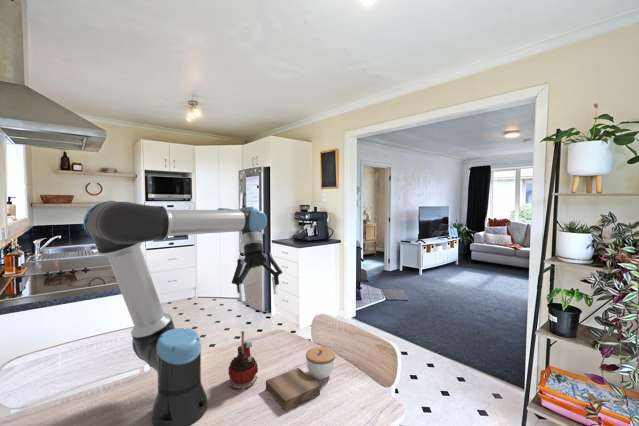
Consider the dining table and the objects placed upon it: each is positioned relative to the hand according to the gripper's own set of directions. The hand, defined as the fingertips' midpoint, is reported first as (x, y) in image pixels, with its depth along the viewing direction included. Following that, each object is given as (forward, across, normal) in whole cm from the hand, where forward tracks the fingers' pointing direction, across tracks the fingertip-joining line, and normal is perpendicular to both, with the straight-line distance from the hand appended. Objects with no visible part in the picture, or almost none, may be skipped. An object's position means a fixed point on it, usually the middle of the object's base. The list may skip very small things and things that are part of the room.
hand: (259, 297), depth 115 cm
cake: (+27, +9, +3) cm, 29 cm away
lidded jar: (+31, -17, -7) cm, 36 cm away
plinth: (+32, -9, +4) cm, 34 cm away
